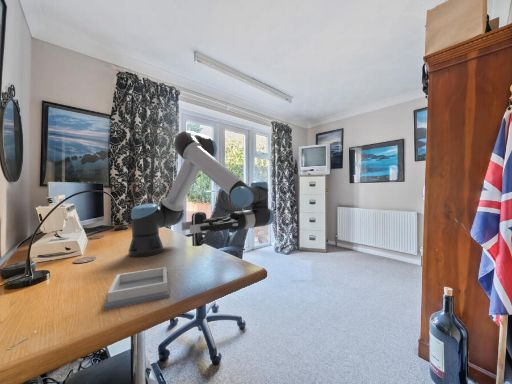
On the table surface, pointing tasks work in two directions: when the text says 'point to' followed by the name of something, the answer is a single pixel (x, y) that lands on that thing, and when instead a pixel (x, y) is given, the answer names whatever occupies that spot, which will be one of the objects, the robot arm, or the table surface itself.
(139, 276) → the tray
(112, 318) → the table surface
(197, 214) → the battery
